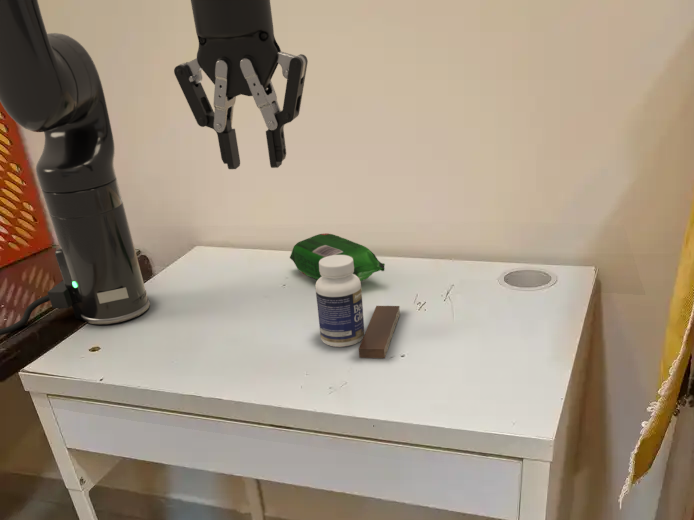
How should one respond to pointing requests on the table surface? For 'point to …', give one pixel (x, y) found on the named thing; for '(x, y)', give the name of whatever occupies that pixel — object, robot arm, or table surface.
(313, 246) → the snack package
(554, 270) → the table surface
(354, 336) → the pill bottle
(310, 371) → the table surface
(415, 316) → the table surface
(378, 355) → the bar
